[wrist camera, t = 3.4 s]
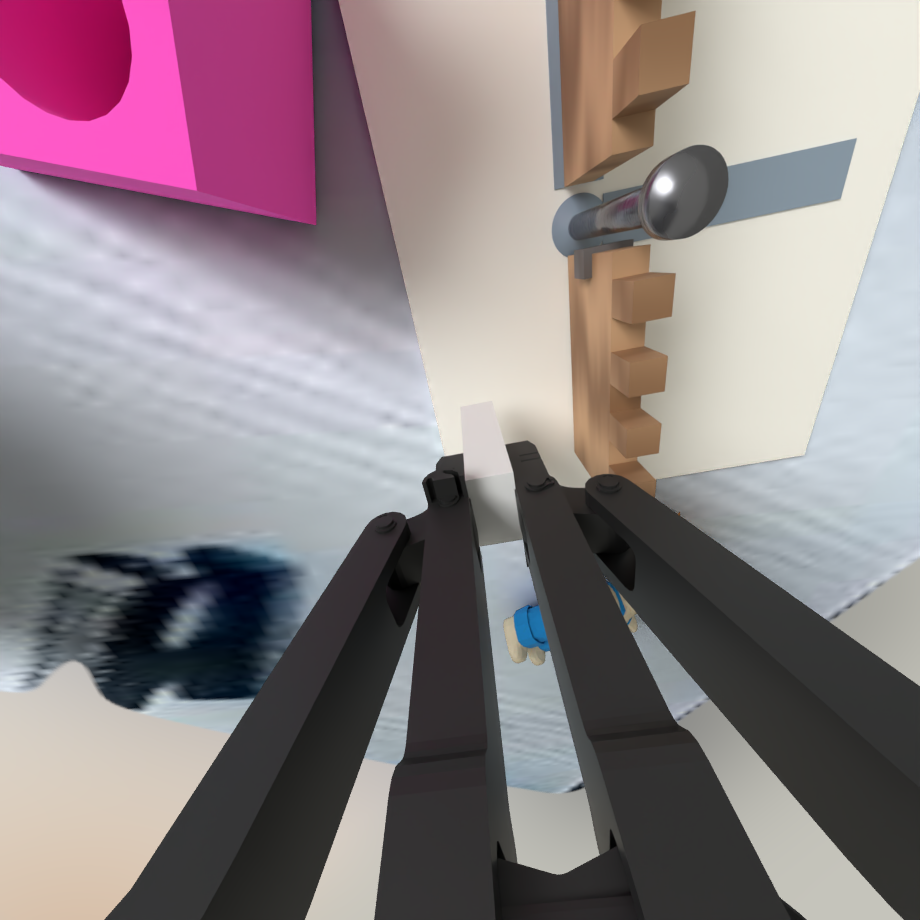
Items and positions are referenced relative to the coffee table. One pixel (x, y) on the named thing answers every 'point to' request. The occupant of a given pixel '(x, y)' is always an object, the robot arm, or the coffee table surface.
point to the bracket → (164, 98)
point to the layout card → (692, 259)
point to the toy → (530, 632)
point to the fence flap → (616, 357)
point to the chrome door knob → (664, 199)
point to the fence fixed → (616, 79)
